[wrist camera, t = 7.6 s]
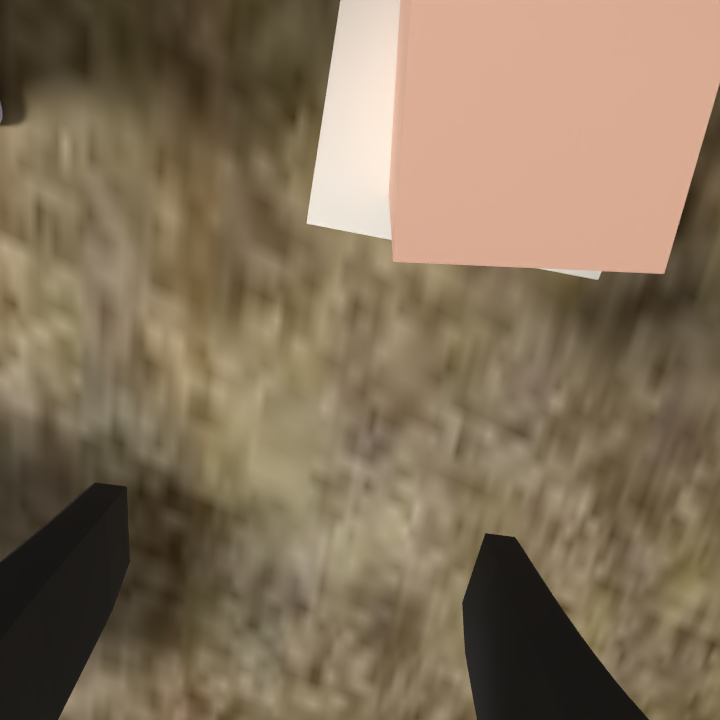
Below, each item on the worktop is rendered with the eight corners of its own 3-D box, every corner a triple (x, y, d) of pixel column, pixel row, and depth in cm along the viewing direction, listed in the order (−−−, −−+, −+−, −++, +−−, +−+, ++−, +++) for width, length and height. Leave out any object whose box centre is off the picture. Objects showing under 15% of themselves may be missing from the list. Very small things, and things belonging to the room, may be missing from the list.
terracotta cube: (388, 195, 16) (393, 261, 11) (402, -37, 13) (415, -66, 9) (583, 204, 16) (664, 273, 11) (633, -27, 13) (758, -51, 9)
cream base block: (318, 188, 20) (306, 223, 16) (367, -119, 16) (364, -161, 12) (559, 236, 20) (598, 279, 17) (661, -51, 17) (738, -72, 13)
